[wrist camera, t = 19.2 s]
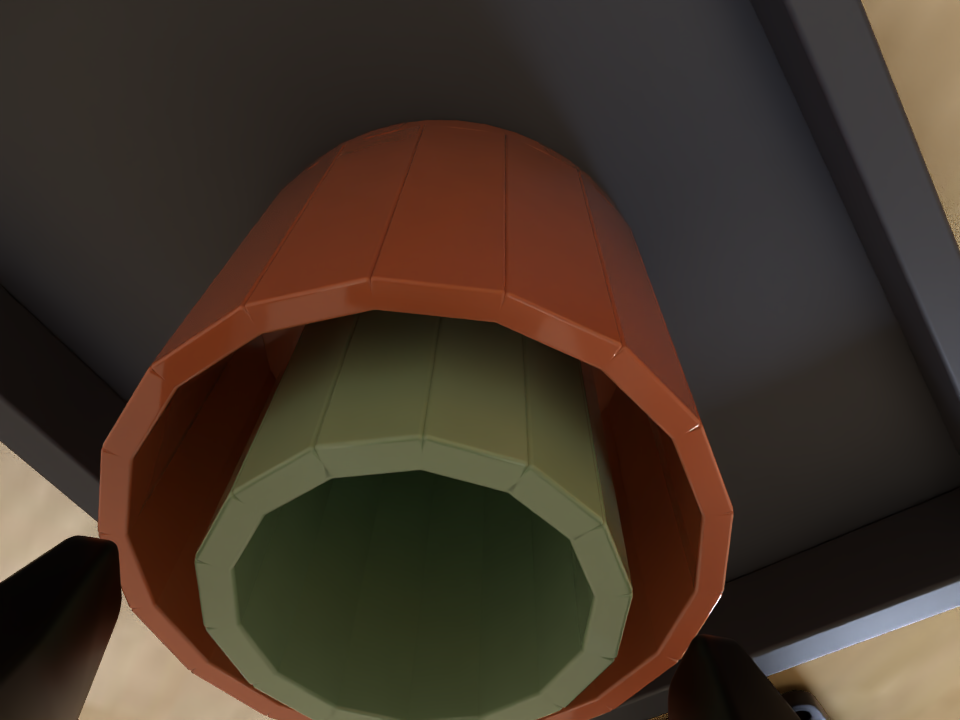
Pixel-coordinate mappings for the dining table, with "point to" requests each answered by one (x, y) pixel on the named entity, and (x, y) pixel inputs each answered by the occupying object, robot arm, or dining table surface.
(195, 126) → the tray
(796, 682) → the dining table surface
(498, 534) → the small cup
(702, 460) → the big cup
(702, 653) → the robot arm
